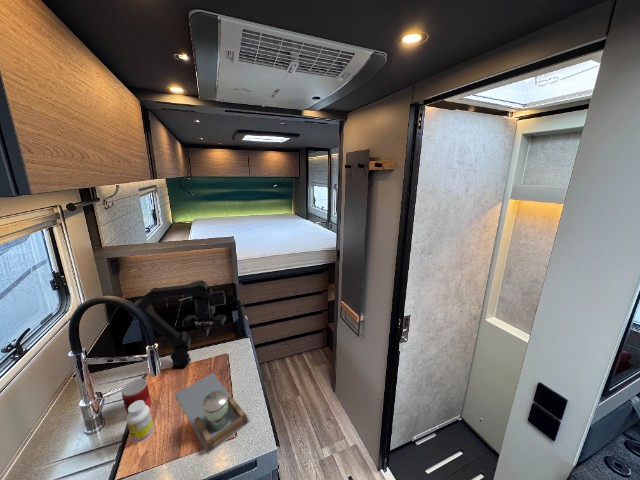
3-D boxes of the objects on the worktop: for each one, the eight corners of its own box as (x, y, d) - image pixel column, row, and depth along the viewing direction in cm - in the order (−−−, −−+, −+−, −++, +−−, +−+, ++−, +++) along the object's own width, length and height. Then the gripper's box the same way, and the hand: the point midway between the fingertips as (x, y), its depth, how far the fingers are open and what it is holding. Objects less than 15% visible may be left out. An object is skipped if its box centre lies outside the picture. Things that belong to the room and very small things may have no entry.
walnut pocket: (195, 425, 92) (194, 419, 91) (231, 401, 102) (230, 395, 101) (209, 451, 84) (208, 444, 83) (247, 422, 93) (247, 415, 92)
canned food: (156, 401, 103) (151, 378, 100) (140, 419, 95) (135, 396, 92) (138, 399, 103) (133, 377, 100) (122, 417, 96) (115, 394, 93)
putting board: (174, 395, 105) (174, 394, 105) (212, 373, 116) (212, 373, 116) (207, 455, 83) (207, 454, 82) (250, 422, 94) (250, 421, 94)
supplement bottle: (129, 434, 89) (122, 406, 86) (151, 421, 94) (144, 394, 91) (134, 448, 85) (126, 418, 82) (156, 433, 90) (150, 405, 86)
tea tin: (202, 432, 90) (198, 409, 87) (211, 411, 98) (208, 390, 95) (224, 432, 90) (221, 410, 87) (232, 411, 98) (230, 390, 95)
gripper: (228, 298, 127) (231, 325, 131) (191, 299, 127) (195, 326, 131) (220, 310, 116) (223, 339, 120) (179, 310, 116) (184, 339, 120)
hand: (206, 335), depth 123 cm, fingers closed
